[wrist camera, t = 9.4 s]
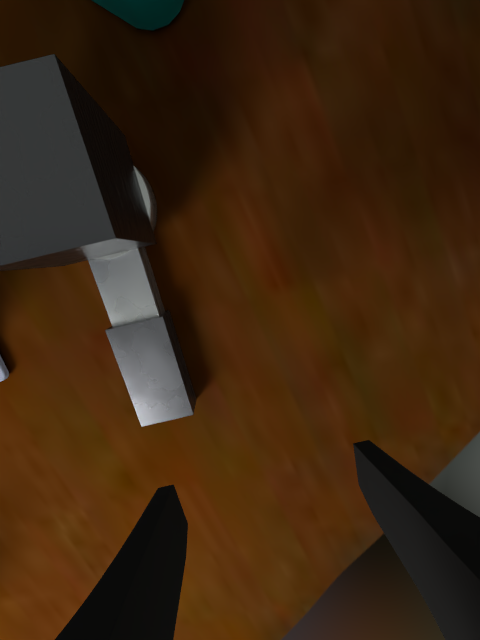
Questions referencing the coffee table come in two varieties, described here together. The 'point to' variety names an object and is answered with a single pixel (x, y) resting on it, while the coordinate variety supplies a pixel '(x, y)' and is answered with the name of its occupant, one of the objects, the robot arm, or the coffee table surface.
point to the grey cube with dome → (62, 173)
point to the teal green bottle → (144, 12)
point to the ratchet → (144, 330)
